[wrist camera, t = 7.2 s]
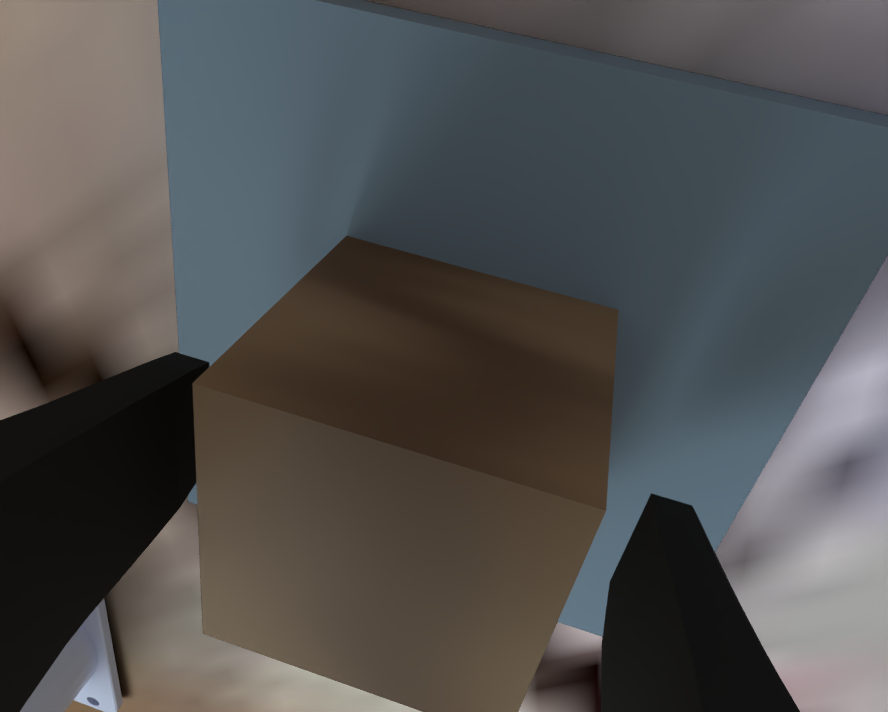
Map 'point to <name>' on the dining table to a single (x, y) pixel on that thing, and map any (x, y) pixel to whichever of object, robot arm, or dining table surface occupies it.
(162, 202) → the dining table surface
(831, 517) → the dining table surface
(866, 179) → the slate board
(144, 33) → the dining table surface
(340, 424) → the walnut cube
